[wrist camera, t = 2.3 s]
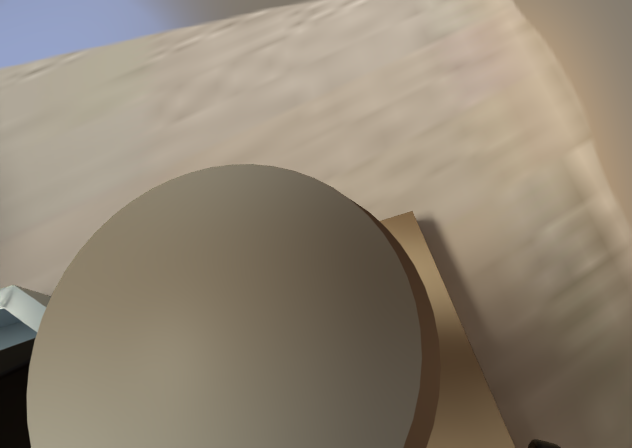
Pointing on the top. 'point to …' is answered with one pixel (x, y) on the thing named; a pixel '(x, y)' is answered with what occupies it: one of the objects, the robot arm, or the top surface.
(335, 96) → the top surface
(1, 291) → the dish
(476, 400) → the trivet
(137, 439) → the pepper mill
